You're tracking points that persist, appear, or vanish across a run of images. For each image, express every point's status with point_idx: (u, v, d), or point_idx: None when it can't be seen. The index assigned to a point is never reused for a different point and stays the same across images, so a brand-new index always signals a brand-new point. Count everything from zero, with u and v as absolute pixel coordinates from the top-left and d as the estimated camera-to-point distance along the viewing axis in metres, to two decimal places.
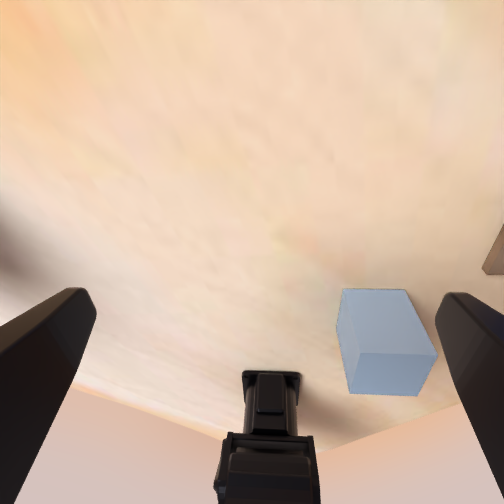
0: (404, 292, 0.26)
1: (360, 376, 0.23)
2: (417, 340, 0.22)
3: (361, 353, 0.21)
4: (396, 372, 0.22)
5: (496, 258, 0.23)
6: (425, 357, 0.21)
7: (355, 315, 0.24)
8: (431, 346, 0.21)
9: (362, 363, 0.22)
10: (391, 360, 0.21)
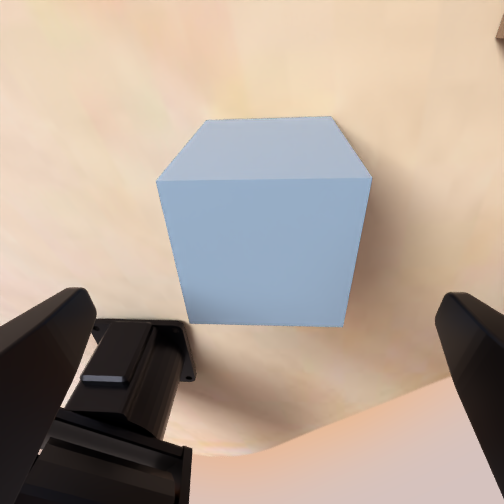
0: (328, 118, 0.12)
1: (191, 270, 0.09)
2: (325, 161, 0.08)
3: (159, 183, 0.07)
4: (275, 252, 0.08)
5: None
6: (338, 190, 0.07)
7: (200, 140, 0.10)
8: (358, 167, 0.08)
9: (178, 223, 0.08)
10: (250, 209, 0.08)
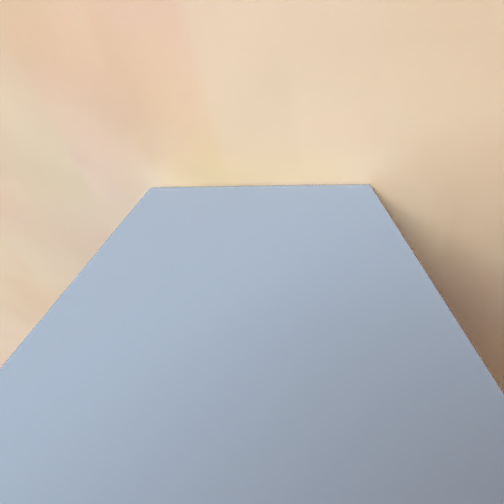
0: (367, 190, 0.07)
1: None
2: (417, 430, 0.03)
3: None
4: None
5: None
6: None
7: (109, 265, 0.05)
8: None
9: None
10: None
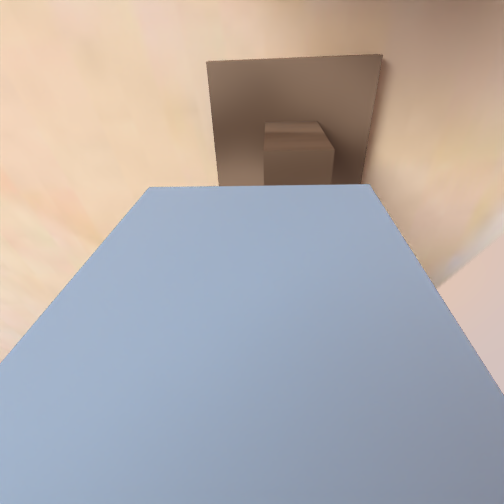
0: (366, 190, 0.07)
1: None
2: (417, 433, 0.03)
3: None
4: None
5: None
6: None
7: (106, 265, 0.05)
8: None
9: None
10: None
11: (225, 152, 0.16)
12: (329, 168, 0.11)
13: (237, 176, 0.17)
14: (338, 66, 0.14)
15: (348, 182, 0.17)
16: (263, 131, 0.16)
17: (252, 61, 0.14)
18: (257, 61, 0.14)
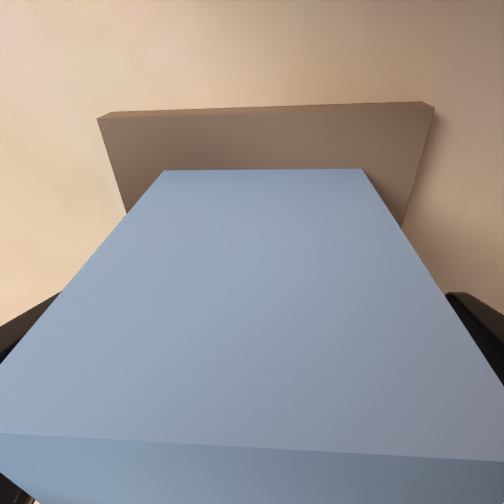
0: (359, 173, 0.07)
1: None
2: (388, 338, 0.03)
3: None
4: None
5: None
6: (443, 474, 0.03)
7: (133, 230, 0.06)
8: (484, 381, 0.03)
9: (40, 481, 0.03)
10: (205, 479, 0.03)
11: None
12: None
13: None
14: (346, 128, 0.07)
15: None
16: None
17: (182, 118, 0.07)
18: (191, 118, 0.07)
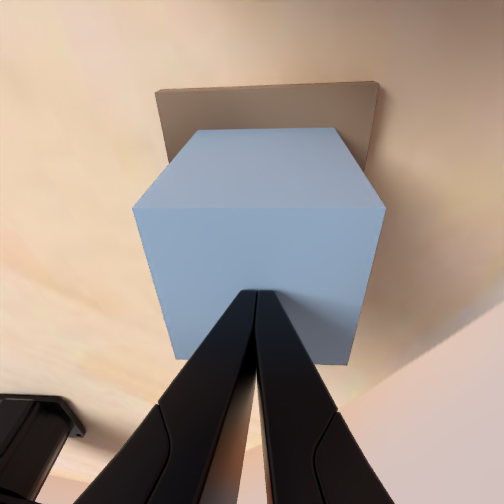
0: (331, 129, 0.11)
1: (176, 304, 0.08)
2: (330, 184, 0.07)
3: (136, 210, 0.06)
4: (272, 287, 0.07)
5: None
6: (345, 221, 0.06)
7: (189, 154, 0.09)
8: (369, 193, 0.07)
9: (160, 255, 0.07)
10: (243, 240, 0.07)
11: None
12: None
13: None
14: (322, 98, 0.11)
15: None
16: None
17: (212, 92, 0.11)
18: (219, 92, 0.11)
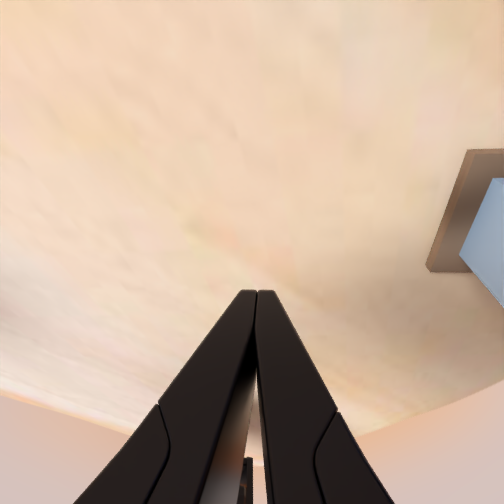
0: None
1: None
2: None
3: None
4: None
5: (438, 253, 0.20)
6: None
7: None
8: None
9: None
10: None
11: (457, 223, 0.18)
12: None
13: (460, 241, 0.19)
14: None
15: None
16: None
17: None
18: None
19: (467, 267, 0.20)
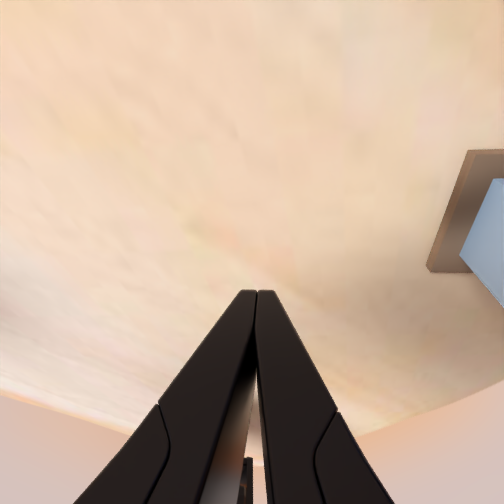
0: None
1: None
2: None
3: None
4: None
5: (438, 253, 0.20)
6: None
7: None
8: None
9: None
10: None
11: (458, 223, 0.18)
12: None
13: (460, 242, 0.19)
14: None
15: None
16: None
17: None
18: None
19: (467, 267, 0.20)
